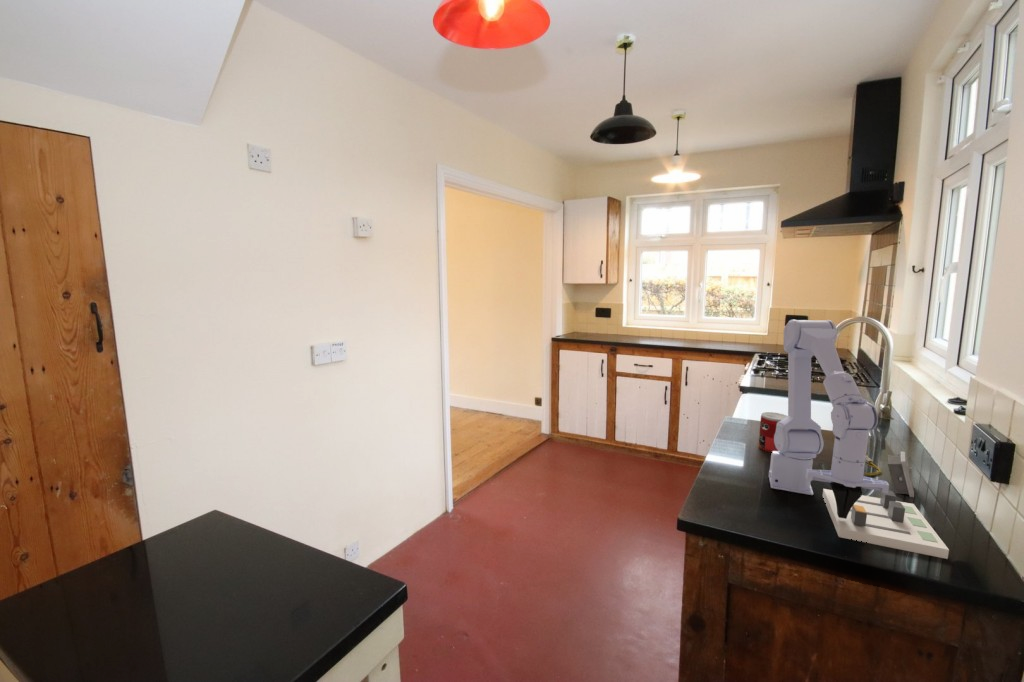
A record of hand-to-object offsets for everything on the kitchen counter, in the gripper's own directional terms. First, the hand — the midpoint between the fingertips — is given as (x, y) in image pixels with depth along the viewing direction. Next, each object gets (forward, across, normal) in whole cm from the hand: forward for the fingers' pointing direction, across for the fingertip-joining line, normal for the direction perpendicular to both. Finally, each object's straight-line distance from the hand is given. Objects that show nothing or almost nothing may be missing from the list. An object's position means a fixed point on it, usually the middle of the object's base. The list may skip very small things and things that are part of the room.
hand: (841, 516), depth 103 cm
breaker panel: (+3, +8, +6) cm, 10 cm away
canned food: (+3, -10, +46) cm, 47 cm away
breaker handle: (+1, +3, 0) cm, 3 cm away
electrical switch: (+3, +18, +29) cm, 34 cm away
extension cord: (+4, +12, +42) cm, 44 cm away
